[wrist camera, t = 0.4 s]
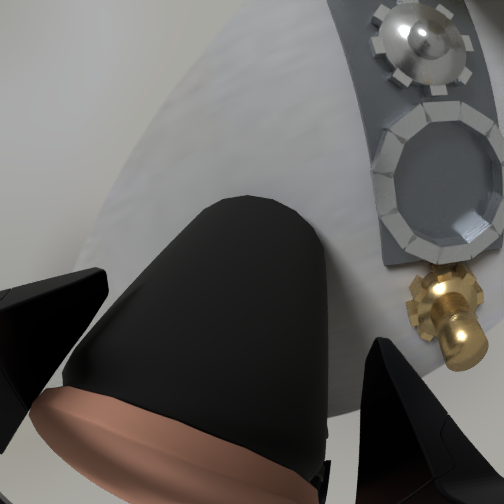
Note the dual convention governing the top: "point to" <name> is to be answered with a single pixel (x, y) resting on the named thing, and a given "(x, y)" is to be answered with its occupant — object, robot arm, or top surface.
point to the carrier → (427, 147)
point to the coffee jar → (205, 369)
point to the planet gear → (449, 314)
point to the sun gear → (421, 46)
